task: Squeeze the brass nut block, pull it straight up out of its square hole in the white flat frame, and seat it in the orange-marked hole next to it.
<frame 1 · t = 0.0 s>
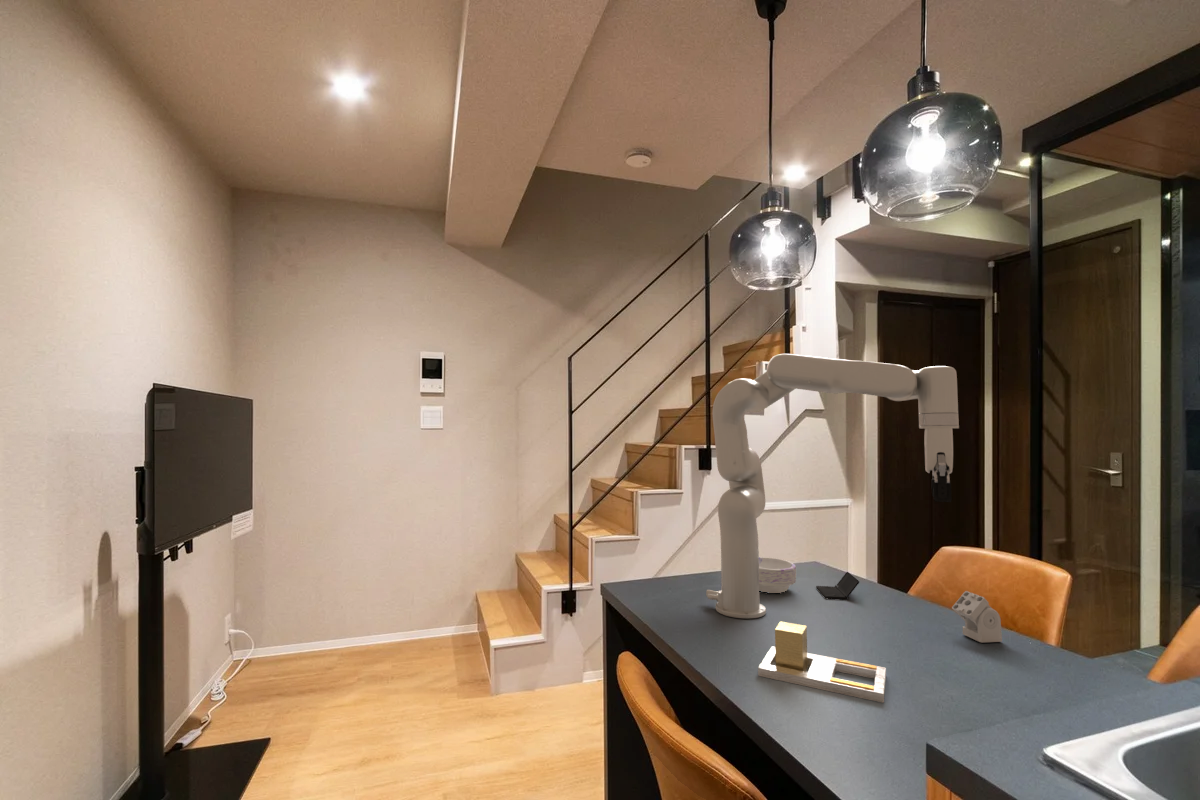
hand: (941, 499, 120), 31 cm above the table, tool pointing down, fingers open, 9 cm apart
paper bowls: (769, 590, 160), on the table
mechanical component: (977, 640, 121), on the table
white flat frame: (822, 675, 102), on the table
handheld gaming console: (837, 595, 155), on the table
brass nut block: (791, 669, 105), resting in white flat frame
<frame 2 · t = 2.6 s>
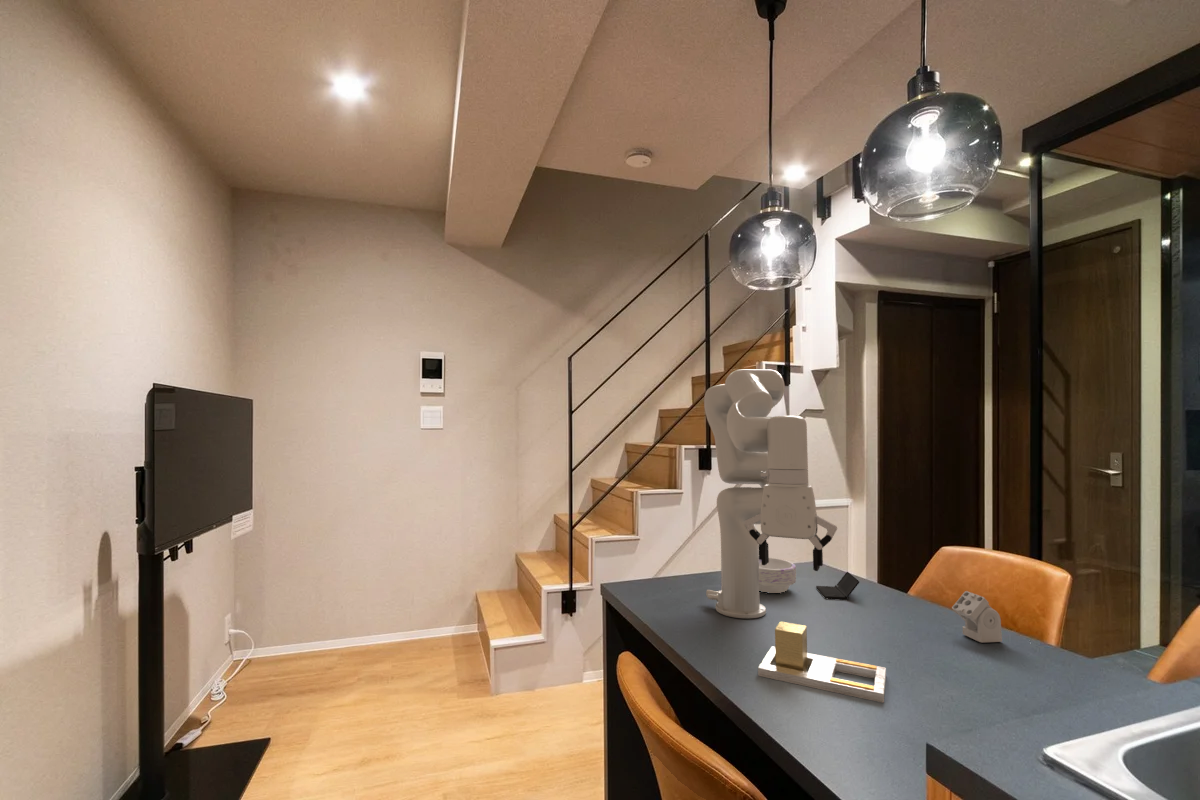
hand: (790, 566, 106), 20 cm above the table, tool pointing down, fingers open, 9 cm apart
nothing on the table moved.
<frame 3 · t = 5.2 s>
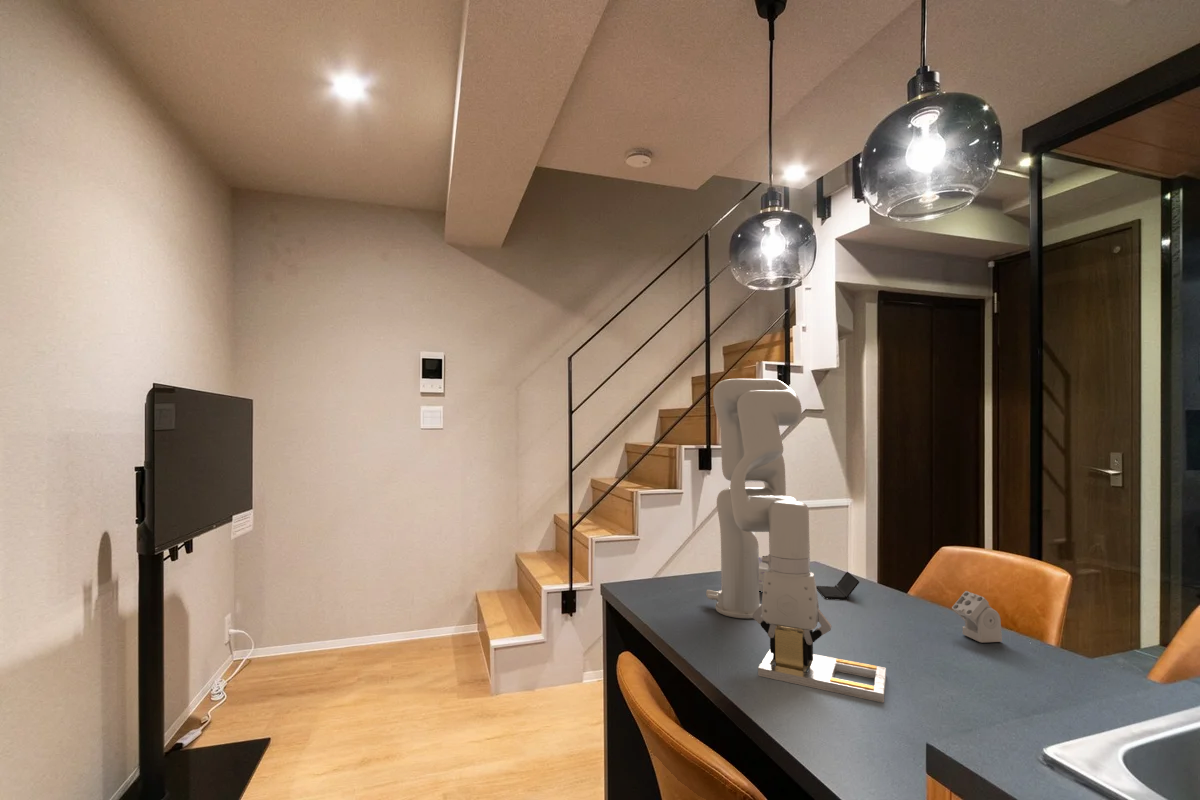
hand: (791, 659, 105), 2 cm above the table, tool pointing down, fingers closed on brass nut block, 5 cm apart
brass nut block: (791, 669, 105), resting in white flat frame, touching gripper
everything else where it was.
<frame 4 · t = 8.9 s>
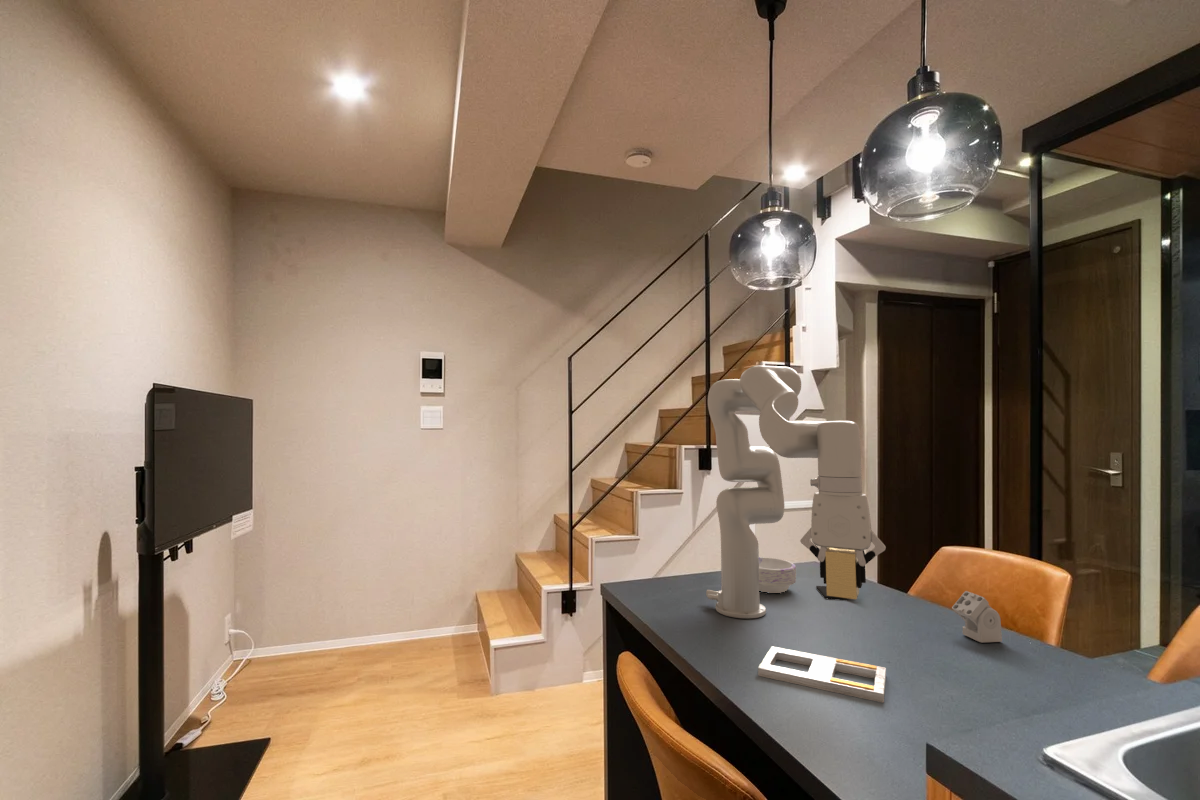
hand: (842, 583, 101), 18 cm above the table, tool pointing down, fingers closed on brass nut block, 5 cm apart
brass nut block: (843, 594, 101), point 16 cm above the table, touching gripper
everything else where it was.
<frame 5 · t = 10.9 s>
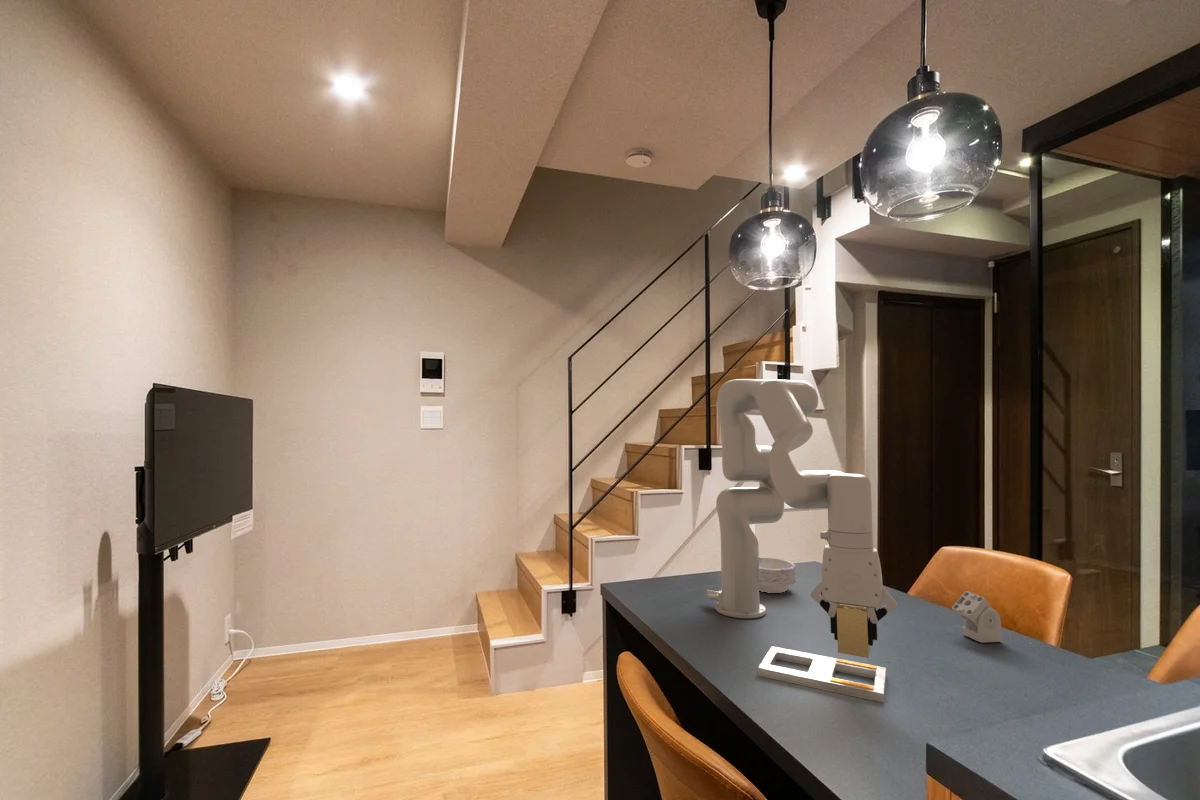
hand: (853, 639, 100), 8 cm above the table, tool pointing down, fingers closed on brass nut block, 5 cm apart
brass nut block: (854, 650, 100), point 6 cm above the table, touching gripper
everything else where it was.
when the fingers open (3 cm above the table, at t = 12.7 s): brass nut block stays where it is, resting in white flat frame.
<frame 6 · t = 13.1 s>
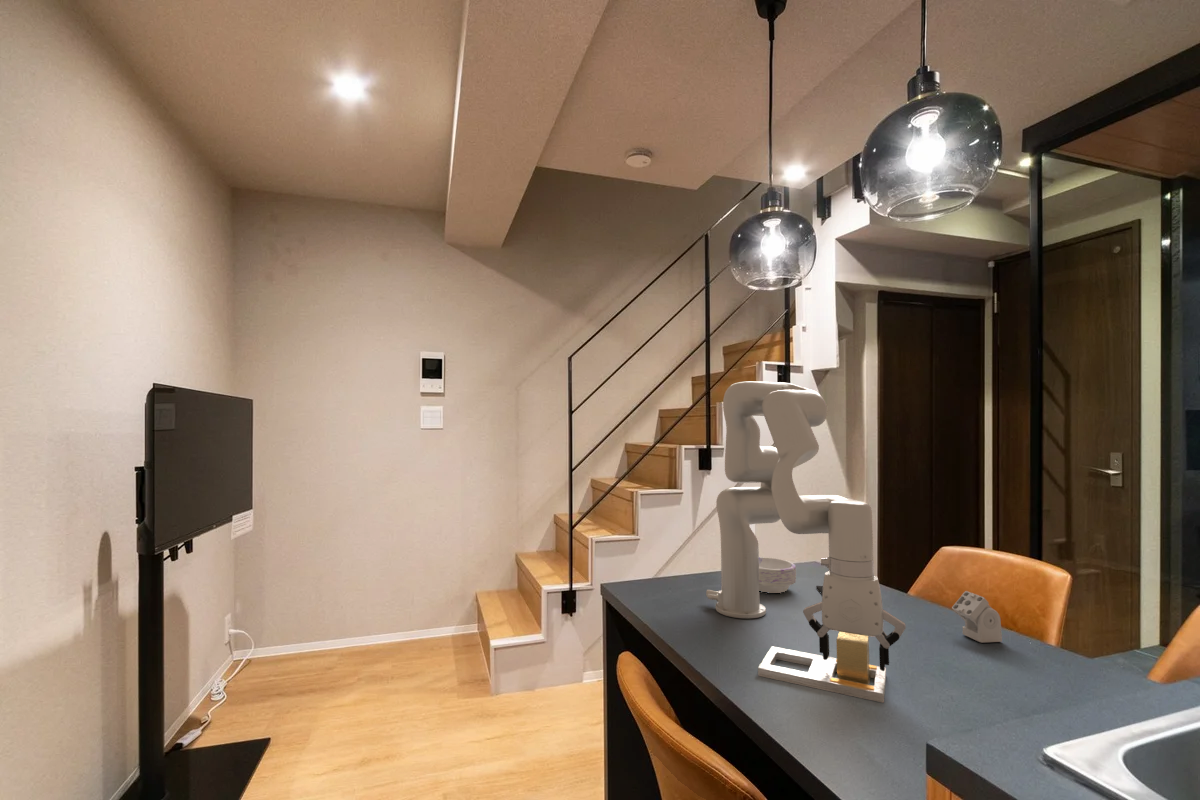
hand: (853, 662, 100), 4 cm above the table, tool pointing down, fingers open, 9 cm apart
brass nut block: (853, 682, 100), resting in white flat frame
everything else where it was.
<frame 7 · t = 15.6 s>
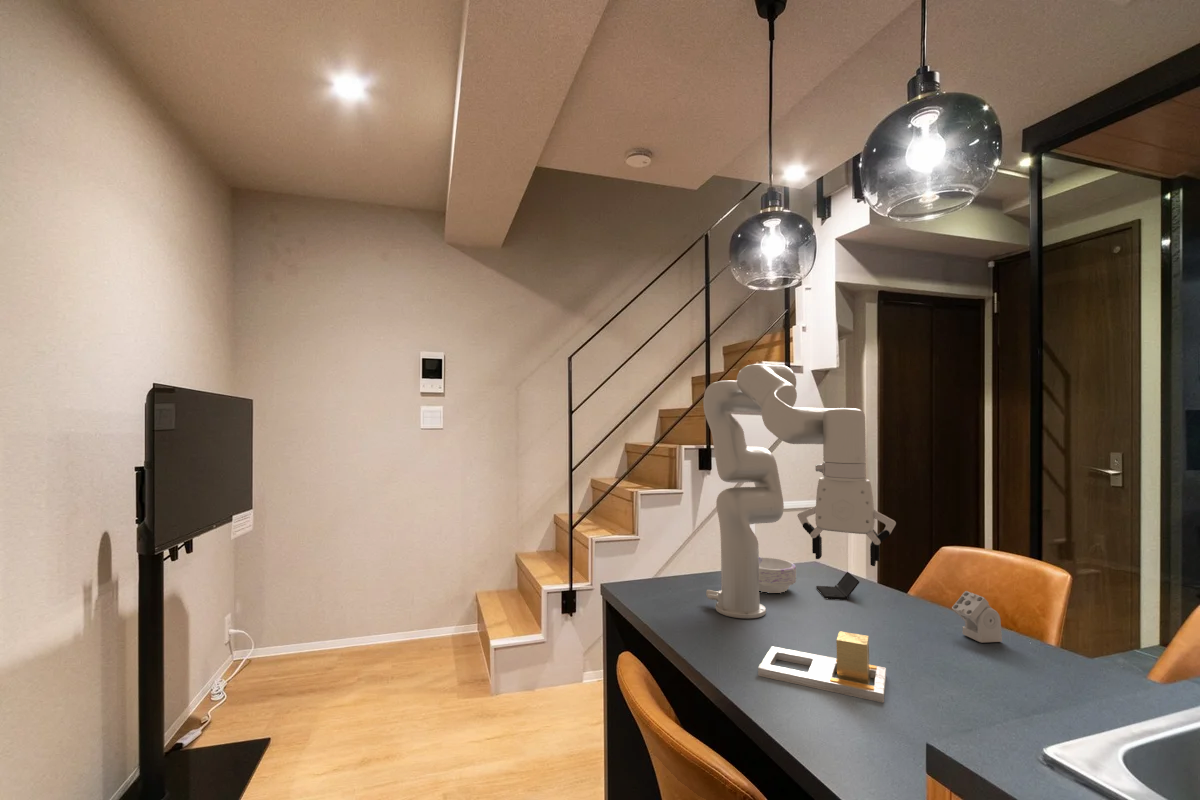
hand: (845, 561, 105), 21 cm above the table, tool pointing down, fingers open, 9 cm apart
nothing on the table moved.
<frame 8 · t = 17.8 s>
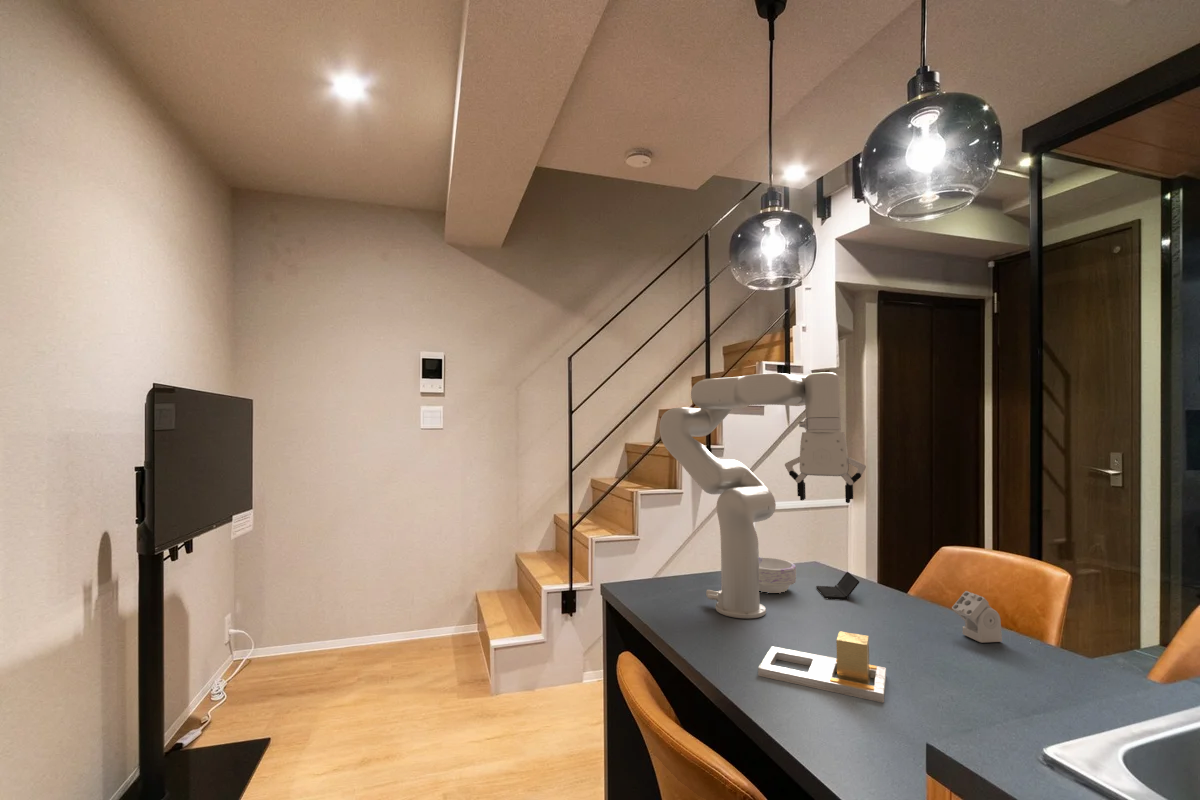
hand: (825, 501, 124), 30 cm above the table, tool pointing down, fingers open, 9 cm apart
nothing on the table moved.
at the end: brass nut block 0.1 cm from the target spot on the white flat frame, point 0.0 cm above the white flat frame's base; brass nut block tilted 0°; the gripper is holding nothing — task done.
